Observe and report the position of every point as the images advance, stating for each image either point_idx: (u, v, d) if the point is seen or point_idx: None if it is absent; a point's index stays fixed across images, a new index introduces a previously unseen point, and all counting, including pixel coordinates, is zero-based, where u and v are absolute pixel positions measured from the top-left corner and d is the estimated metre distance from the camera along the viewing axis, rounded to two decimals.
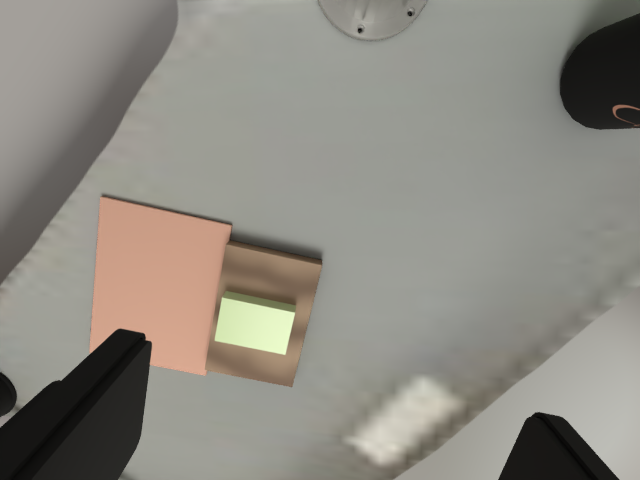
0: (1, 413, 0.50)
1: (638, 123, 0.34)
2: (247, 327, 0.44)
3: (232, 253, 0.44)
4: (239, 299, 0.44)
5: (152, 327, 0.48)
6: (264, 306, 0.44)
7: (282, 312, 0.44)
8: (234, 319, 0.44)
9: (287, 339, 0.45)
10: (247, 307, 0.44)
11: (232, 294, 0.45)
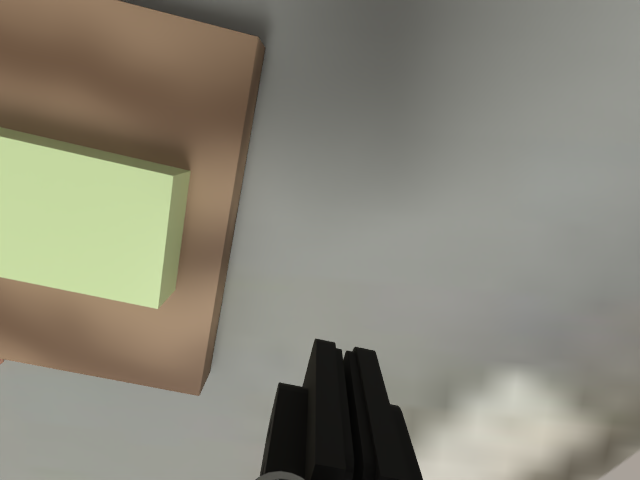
0: None
1: None
2: (36, 224, 0.15)
3: None
4: (1, 134, 0.14)
5: None
6: (76, 154, 0.14)
7: (133, 174, 0.14)
8: None
9: (159, 262, 0.15)
10: (24, 156, 0.14)
11: None
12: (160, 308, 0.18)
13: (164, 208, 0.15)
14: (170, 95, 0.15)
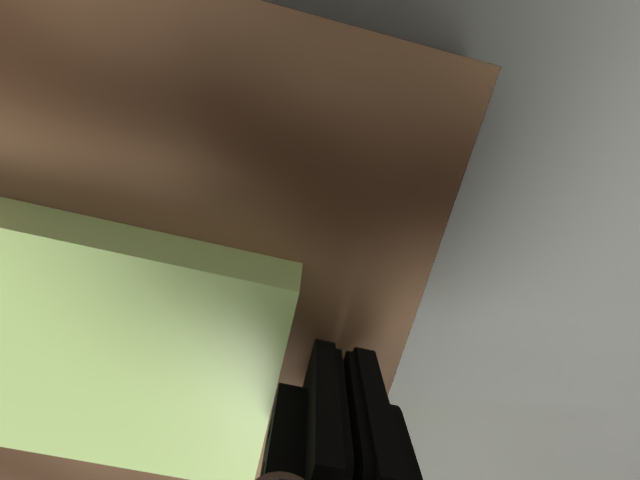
0: None
1: None
2: (58, 367, 0.09)
3: None
4: (1, 220, 0.08)
5: None
6: (133, 257, 0.08)
7: (231, 289, 0.08)
8: None
9: (260, 424, 0.09)
10: (41, 259, 0.08)
11: None
12: None
13: (278, 342, 0.09)
14: (342, 157, 0.09)
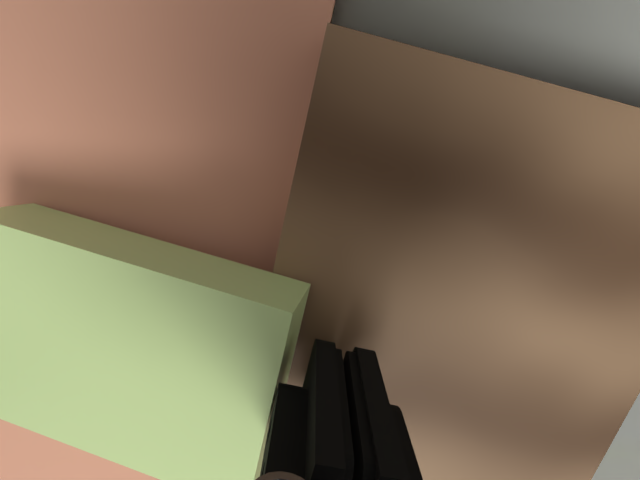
0: None
1: None
2: (79, 365, 0.10)
3: (356, 75, 0.09)
4: (44, 230, 0.09)
5: None
6: (143, 268, 0.09)
7: (228, 306, 0.08)
8: (23, 323, 0.10)
9: (255, 444, 0.09)
10: (69, 266, 0.09)
11: (42, 213, 0.10)
12: None
13: (272, 363, 0.08)
14: (610, 227, 0.10)
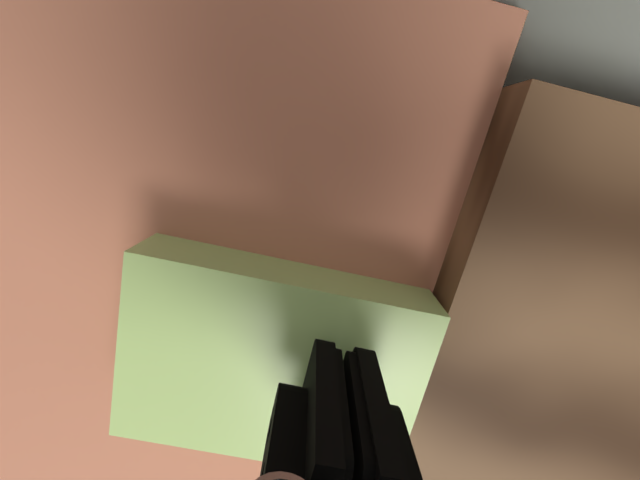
0: None
1: None
2: (244, 382, 0.10)
3: (553, 128, 0.09)
4: (206, 262, 0.10)
5: None
6: (316, 291, 0.10)
7: (395, 316, 0.10)
8: (186, 350, 0.10)
9: (407, 427, 0.11)
10: (243, 295, 0.10)
11: (180, 243, 0.11)
12: None
13: (429, 359, 0.10)
14: None
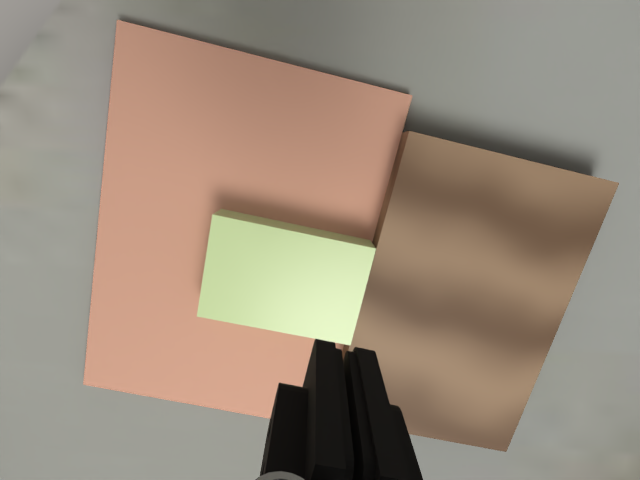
0: None
1: None
2: (270, 284, 0.20)
3: (421, 153, 0.19)
4: (251, 221, 0.20)
5: (219, 329, 0.23)
6: (308, 235, 0.20)
7: (347, 248, 0.20)
8: (241, 267, 0.20)
9: (356, 310, 0.21)
10: (271, 236, 0.19)
11: (235, 213, 0.21)
12: (493, 381, 0.22)
13: (366, 271, 0.20)
14: (543, 223, 0.20)
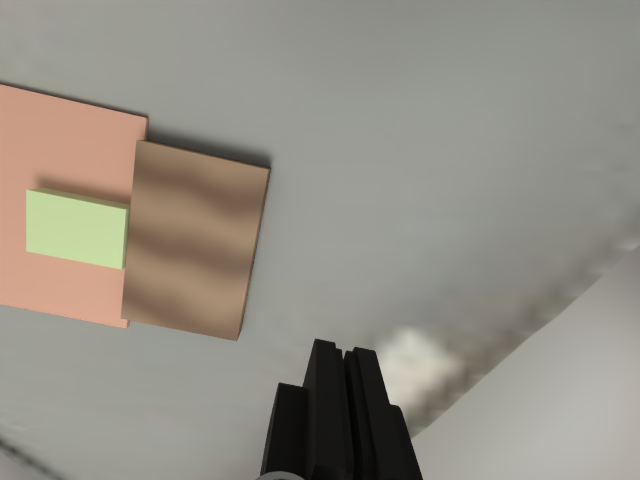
0: None
1: None
2: (66, 231, 0.34)
3: (146, 153, 0.32)
4: (52, 193, 0.33)
5: (51, 262, 0.37)
6: (84, 201, 0.33)
7: (109, 209, 0.33)
8: (47, 221, 0.34)
9: (121, 247, 0.34)
10: (62, 202, 0.33)
11: (48, 189, 0.34)
12: (218, 294, 0.36)
13: (122, 223, 0.34)
14: (228, 194, 0.33)
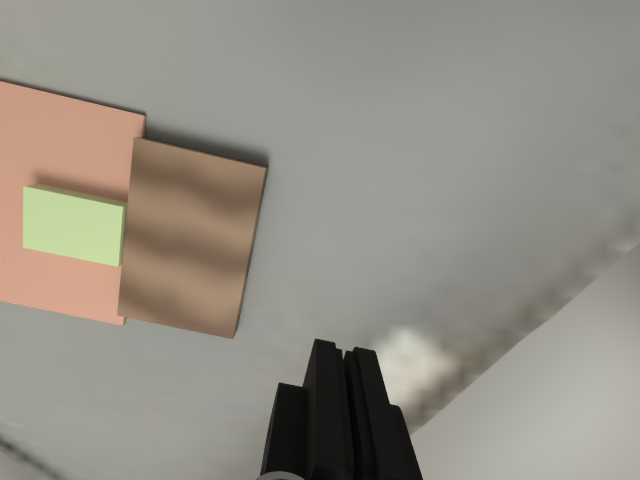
0: None
1: None
2: (63, 228, 0.34)
3: (143, 150, 0.33)
4: (49, 190, 0.33)
5: (48, 259, 0.37)
6: (81, 198, 0.33)
7: (106, 206, 0.33)
8: (44, 217, 0.34)
9: (118, 245, 0.34)
10: (59, 199, 0.33)
11: (45, 186, 0.34)
12: (215, 292, 0.36)
13: (119, 220, 0.34)
14: (225, 192, 0.34)
